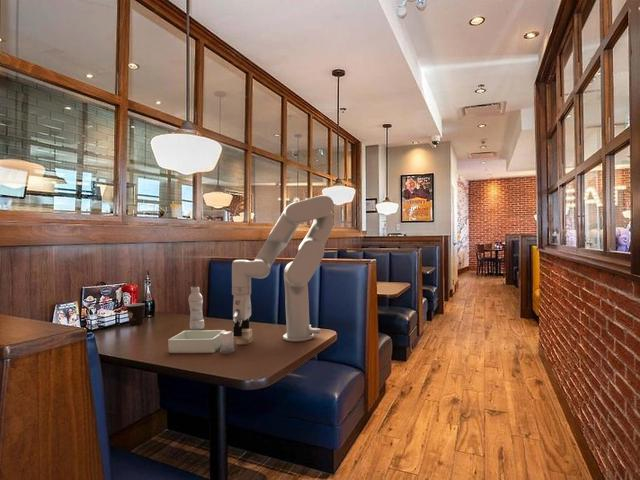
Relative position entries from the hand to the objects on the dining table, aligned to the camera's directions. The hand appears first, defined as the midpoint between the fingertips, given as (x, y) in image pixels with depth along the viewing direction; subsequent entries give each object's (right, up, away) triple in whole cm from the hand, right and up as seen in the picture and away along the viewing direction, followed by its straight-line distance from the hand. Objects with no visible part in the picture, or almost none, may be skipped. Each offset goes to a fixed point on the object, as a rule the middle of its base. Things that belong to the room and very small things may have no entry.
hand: (241, 333), depth 158 cm
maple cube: (+1, -4, 0) cm, 4 cm away
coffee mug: (-61, -6, +41) cm, 74 cm away
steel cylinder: (-3, -4, -11) cm, 13 cm away
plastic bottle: (-25, -5, +24) cm, 35 cm away
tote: (-16, -5, -5) cm, 17 cm away
